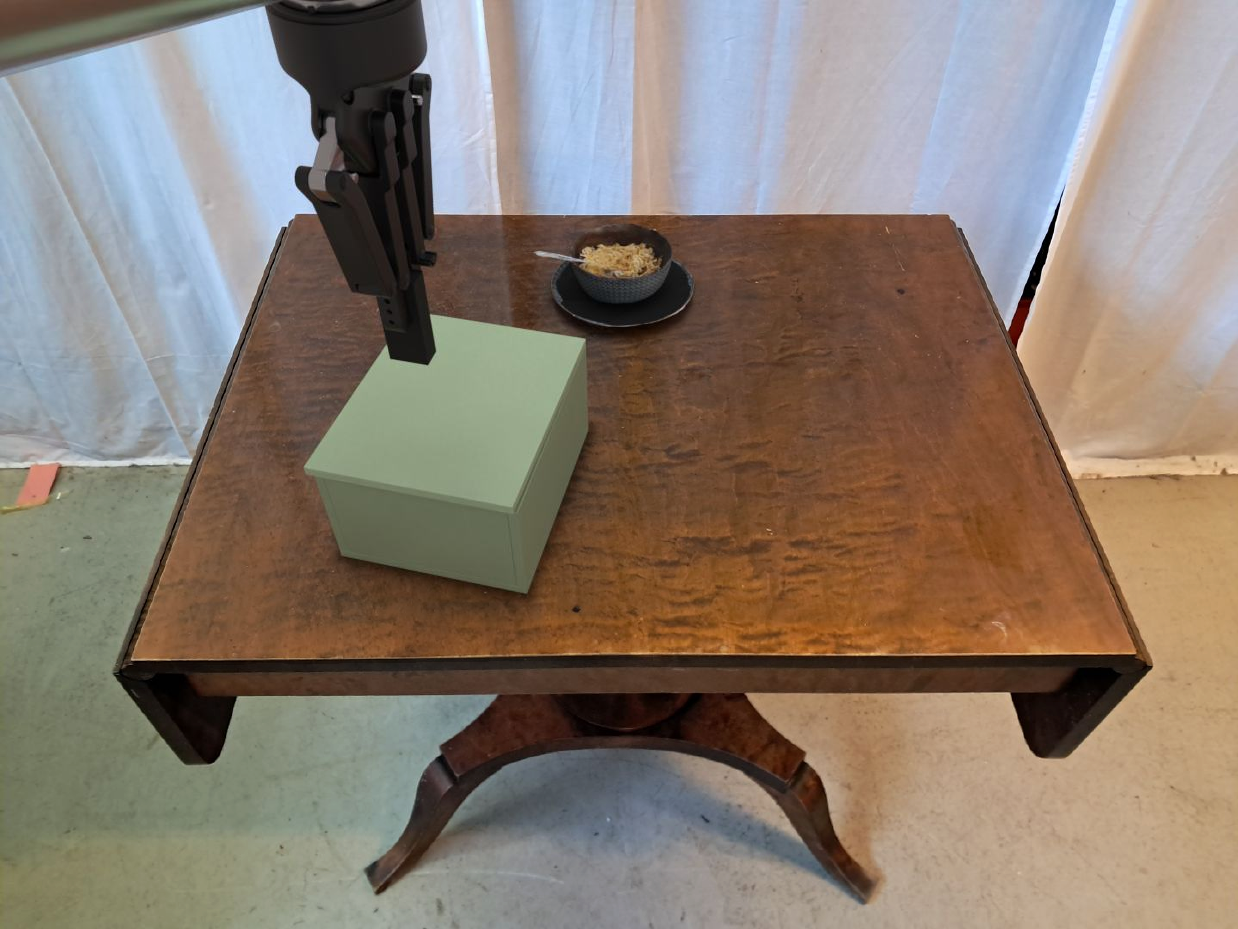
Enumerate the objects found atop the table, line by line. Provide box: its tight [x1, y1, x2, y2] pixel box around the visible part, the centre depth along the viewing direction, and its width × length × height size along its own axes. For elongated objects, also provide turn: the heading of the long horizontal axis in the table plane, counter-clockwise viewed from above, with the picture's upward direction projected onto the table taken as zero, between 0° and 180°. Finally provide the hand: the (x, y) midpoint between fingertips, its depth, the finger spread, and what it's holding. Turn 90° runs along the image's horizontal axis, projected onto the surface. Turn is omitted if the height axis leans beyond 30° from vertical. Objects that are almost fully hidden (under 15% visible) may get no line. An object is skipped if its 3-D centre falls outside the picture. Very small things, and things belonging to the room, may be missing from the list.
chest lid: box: [303, 313, 587, 514], centre depth 73 cm, size 19×16×1 cm
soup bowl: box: [533, 223, 695, 331], centre depth 97 cm, size 15×16×7 cm
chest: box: [313, 347, 589, 595], centre depth 77 cm, size 19×16×10 cm
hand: (413, 354), depth 63 cm, fingers closed
